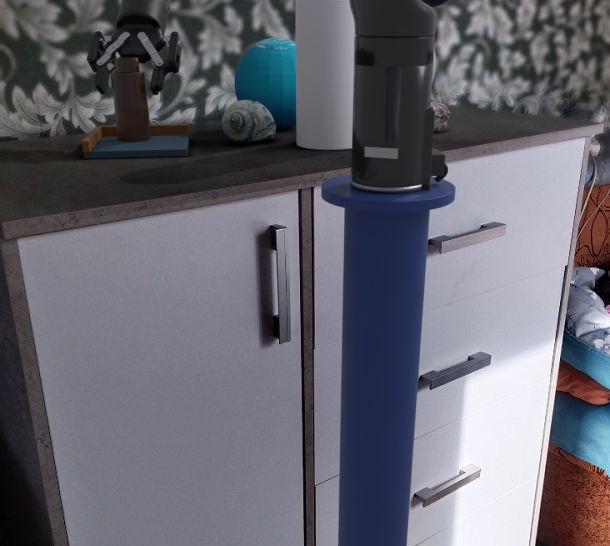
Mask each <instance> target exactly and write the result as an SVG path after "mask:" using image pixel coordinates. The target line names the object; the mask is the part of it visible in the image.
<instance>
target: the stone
mask: <svg viewBox="0 0 610 546" xmlns="http://www.w3.org/2000/svg"><path fill="white" fill-rule="evenodd" d="M431 107H433V108H434V109H435V121H434V133H438V132H442V131H444V130H446V129H447V126H448V122H449V121H448V120H449V119H450V115H451V114H450V110H449V108H448V106H447V105H446V104H445V103H442V102H438V101H431Z"/></svg>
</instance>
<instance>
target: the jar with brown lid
mask: <svg viewBox="0 0 610 546" xmlns="http://www.w3.org/2000/svg"><path fill="white" fill-rule="evenodd" d="M116 57H117V56H116ZM115 68H116V69H115V70H113V71H112V72H111V73H110V78H111V79H110V81H111V88H112V89H111V90H112V98H113V108H114V118H115V125H116V127H117V136H118V140H119V141H123V142H140V141H147V140H150V139H151V130H150V125H151V120H150V110H149V99H148V98H149V97H148V87H147V77H146V76H147V75H146V71H144V70H140V68H141V67H140V63H139V58H138V57H120V56H118V57H117V58H115Z"/></svg>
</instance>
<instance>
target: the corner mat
mask: <svg viewBox="0 0 610 546" xmlns="http://www.w3.org/2000/svg"><path fill="white" fill-rule="evenodd" d="M150 130H151V139H150V140H147V141H140V142H123V141H119V140H118V136H117V127H116V124H114V125H113V124H112V125H95V126H94V127H93V128H92V130H91V131H89V133H88V134H87V135H86V136H85V137H84V138H83V139H82V141H81V145H82V153H83V159H116V158H117V159H118V158H119V159H121V158H161V157H163V158H165V157H187V156H188V152H189V145H190V125H189V123H171V124H169V123H168V124H167V123H165V124H162V123H161V124H150Z"/></svg>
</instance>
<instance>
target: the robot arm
mask: <svg viewBox="0 0 610 546" xmlns="http://www.w3.org/2000/svg"><path fill="white" fill-rule="evenodd" d="M171 2H172V0H121V1H120V5H119V9H118V12H117V13H118V14H117V19H116V23H115V24H116V26H115V30H114V32H113V33H112V34H111V35H103V33H102V31H101V30H97V31H95V32H94V34H93V36H92V40H91V43H90V46H89V50H88V53H87V56H86V61H87V63H88V65H89V67H90V69H91V71H92V72H93V73H95V76H94V79H93V83H94V86H95V88H96V90H97V91H98V93H99V94H100V95H106V94H107V91H108V85H109V81H110V78H111V72H113V71H115V70H116V68H115V58H117V54H118V55H119V57H138V58H139V64H146V63H147V62H150V63H151V65H152V66H153V68H152V72H151V78H150V83H149V89H150V91H151V93H152V96H159V93H161V92H163V90H164V84H165V81H166V76H167V75H168V74H169V73H172V74H178V73H179V72H180V67H181V59H182V52H183V51H182V50H183V43H182V40H181V38H180V35H179V32H178V31H175V30H174V31H172V32H171V33H170V35H165V34H166V28H167V24H168V19H169V14H170V11H171V4H172V3H171ZM349 2H350V8H351V12H352V15H353V18H354V26H355V33H354V34H355V35H356V36H355V37H354V79H353V122H352V148H351V167H350V174H351V179H350V186H351V187H352V188H354V189H356V190H359V191H363V192H368V193H377V194H405V193H413V192H417V191H422V190H430V180H431V176H432V177H435V178H434V180H435V181H436V182H437V183H438V182H439V181H441V180H442V179H443V180H444V179H445V178H446V177H447V175H448V172H449V167H448V164H447V163H446V154H445V153H444V152H442V151H440V150H439V149H437V148H434V135H435V132H434V121H435V109H434V108H433V107H431V102H432V89H433V88H432V87H433V82H432V75H433V59H434V50H435V43H436V36H435V35H436V30H437V29H436V28H437V13H436V11H435V9H434V7H431V6H429V5H427V4H426V3H424V2H423V1H421V0H349ZM165 46H166V47H167V52H168V53H167V59H165V60H163V59H162V57H161V56H160V54H159V52H160V51H161V50H163V49H164V47H165Z"/></svg>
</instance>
